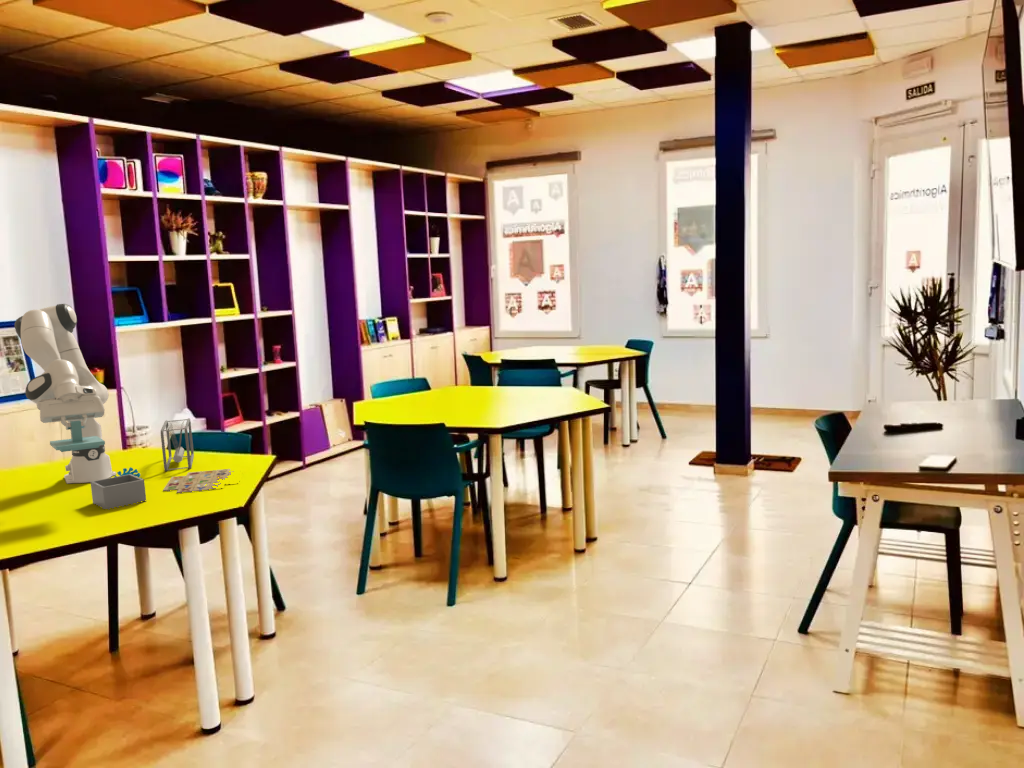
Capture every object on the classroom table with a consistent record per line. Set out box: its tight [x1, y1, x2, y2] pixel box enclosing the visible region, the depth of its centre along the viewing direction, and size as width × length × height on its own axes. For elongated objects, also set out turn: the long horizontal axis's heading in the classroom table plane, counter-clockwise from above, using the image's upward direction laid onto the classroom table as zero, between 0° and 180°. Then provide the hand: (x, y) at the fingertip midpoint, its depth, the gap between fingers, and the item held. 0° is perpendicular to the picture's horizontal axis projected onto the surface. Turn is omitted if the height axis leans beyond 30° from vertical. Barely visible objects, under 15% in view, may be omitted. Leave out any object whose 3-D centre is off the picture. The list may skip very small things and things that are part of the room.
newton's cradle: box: [160, 417, 195, 472], centre depth 367 cm, size 30×10×18 cm, turn 18°
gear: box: [114, 467, 143, 479], centre depth 328 cm, size 11×6×10 cm
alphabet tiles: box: [162, 468, 235, 494], centre depth 332 cm, size 28×33×1 cm
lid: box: [49, 420, 106, 453], centre depth 295 cm, size 15×15×9 cm
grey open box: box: [90, 474, 147, 510], centre depth 306 cm, size 14×14×8 cm
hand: (75, 427), depth 294 cm, fingers open, 3 cm apart
